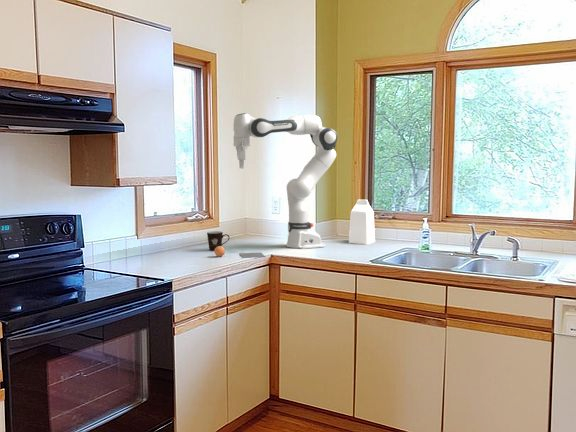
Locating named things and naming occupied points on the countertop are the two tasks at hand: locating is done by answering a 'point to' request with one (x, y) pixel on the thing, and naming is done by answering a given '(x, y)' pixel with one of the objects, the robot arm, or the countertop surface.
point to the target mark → (251, 255)
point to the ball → (219, 251)
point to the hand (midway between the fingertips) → (241, 168)
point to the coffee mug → (215, 239)
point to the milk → (362, 223)
